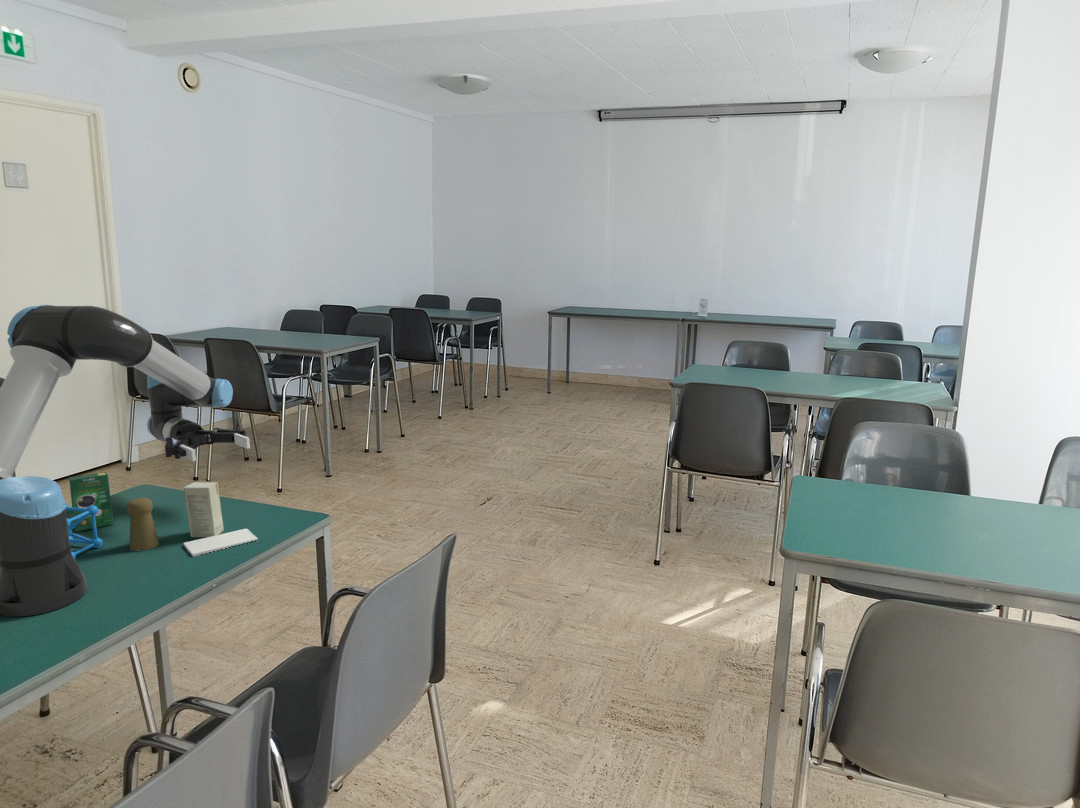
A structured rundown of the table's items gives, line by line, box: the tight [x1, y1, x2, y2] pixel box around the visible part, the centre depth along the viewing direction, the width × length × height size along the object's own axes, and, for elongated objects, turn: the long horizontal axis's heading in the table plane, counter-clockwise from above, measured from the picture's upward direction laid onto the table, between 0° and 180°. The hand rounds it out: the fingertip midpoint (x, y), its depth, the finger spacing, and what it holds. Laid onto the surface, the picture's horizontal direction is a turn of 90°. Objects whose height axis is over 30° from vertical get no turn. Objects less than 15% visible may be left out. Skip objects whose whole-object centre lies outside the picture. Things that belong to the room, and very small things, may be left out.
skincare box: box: [183, 481, 225, 538], centre depth 176 cm, size 6×4×12 cm
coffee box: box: [68, 471, 114, 533], centre depth 181 cm, size 8×3×13 cm, turn 129°
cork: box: [125, 497, 160, 552], centre depth 170 cm, size 6×6×11 cm
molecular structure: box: [65, 503, 104, 560], centre depth 166 cm, size 10×10×10 cm
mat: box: [183, 528, 259, 558], centre depth 172 cm, size 14×8×1 cm, turn 128°
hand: (221, 449), depth 184 cm, fingers open, 13 cm apart
